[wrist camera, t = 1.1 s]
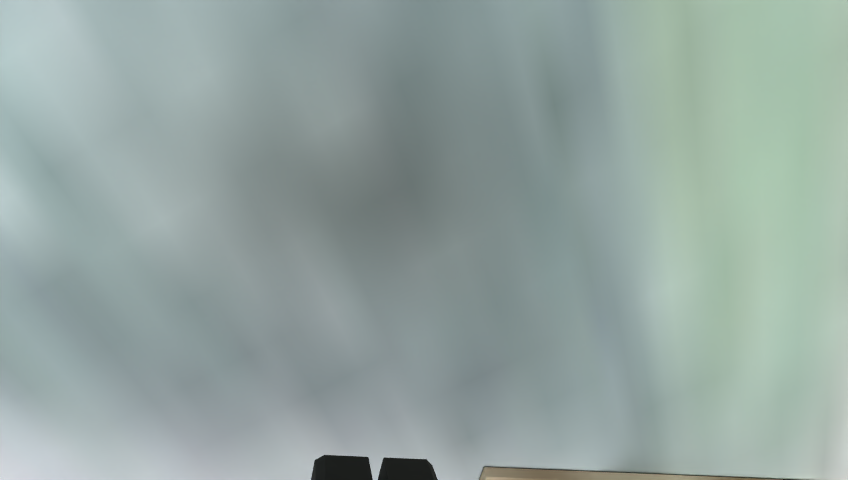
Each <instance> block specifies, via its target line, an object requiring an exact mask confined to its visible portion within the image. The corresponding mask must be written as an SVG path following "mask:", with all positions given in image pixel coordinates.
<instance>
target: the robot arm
mask: <svg viewBox="0 0 848 480" xmlns="http://www.w3.org/2000/svg"><path fill="white" fill-rule="evenodd" d="M311 480H372V474H371V469H370V464H369V458H368V457H357V456H334V455H324V456H322V457H320V458H318V459H316V460H315V462H314V467H313V473H312V478H311ZM378 480H438V479H437V477H436V474H435V472H434V469H433V466H432V465H431V464H430V463H429V462H428V461H427V459H403V458H383V462H382V466H381V469H380V473H379V477H378Z"/></svg>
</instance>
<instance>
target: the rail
mask: <svg viewBox="0 0 848 480" xmlns="http://www.w3.org/2000/svg"><path fill="white" fill-rule="evenodd" d="M480 480H781V479H757V478H733V477H709V476H685V475H661V474H637V473H612V472H588V471H564V470H540V469H516V468H492V467H484V469H483V472H482V474H481V477H480Z"/></svg>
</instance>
